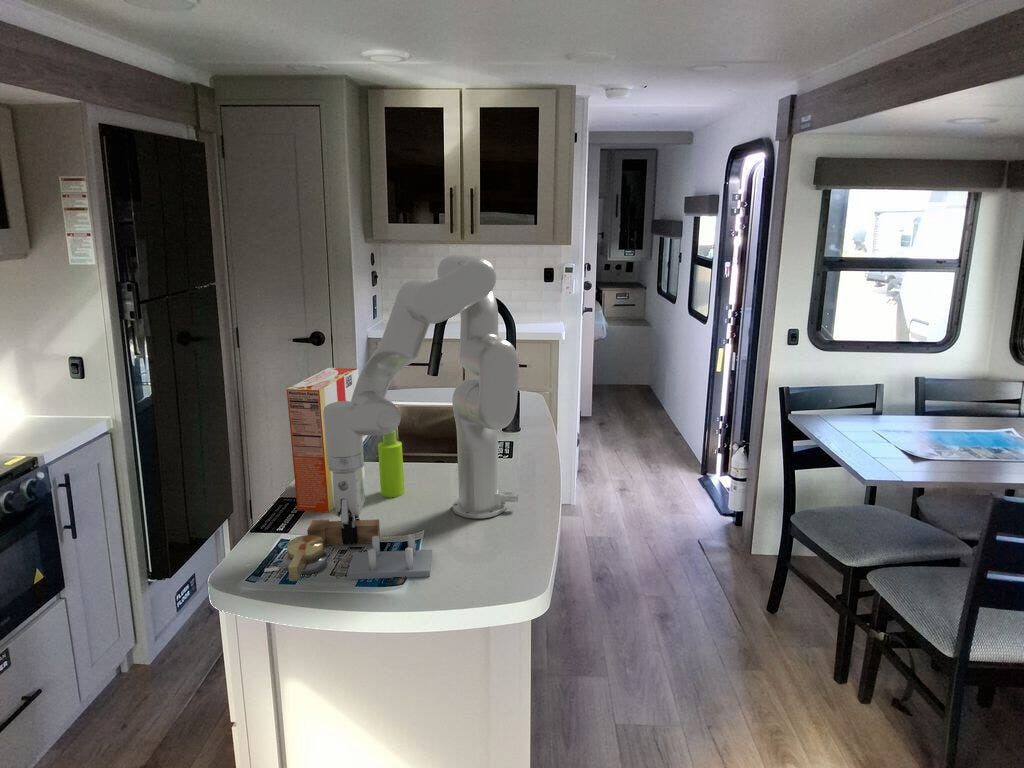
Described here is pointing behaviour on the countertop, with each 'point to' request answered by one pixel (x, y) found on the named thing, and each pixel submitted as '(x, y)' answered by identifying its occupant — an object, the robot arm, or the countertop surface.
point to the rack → (390, 562)
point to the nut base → (307, 565)
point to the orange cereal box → (315, 434)
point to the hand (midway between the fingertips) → (351, 539)
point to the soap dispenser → (391, 466)
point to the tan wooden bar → (333, 531)
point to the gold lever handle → (303, 553)
